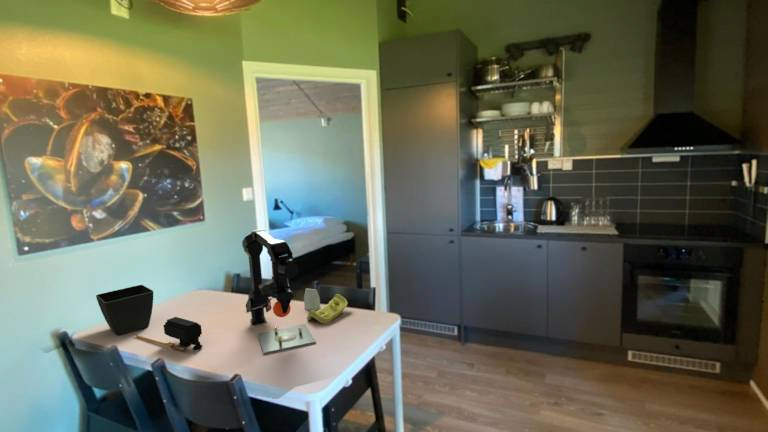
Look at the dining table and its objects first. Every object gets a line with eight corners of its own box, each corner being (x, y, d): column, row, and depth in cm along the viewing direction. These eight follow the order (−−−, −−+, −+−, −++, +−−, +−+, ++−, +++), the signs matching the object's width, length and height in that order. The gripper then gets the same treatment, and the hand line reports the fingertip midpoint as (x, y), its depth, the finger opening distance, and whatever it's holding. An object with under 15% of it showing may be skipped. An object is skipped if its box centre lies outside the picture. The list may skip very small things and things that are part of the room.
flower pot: (100, 329, 188) (95, 294, 186) (146, 317, 201) (141, 283, 199) (110, 340, 175) (104, 302, 172) (158, 326, 188) (154, 291, 186)
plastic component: (325, 320, 180) (308, 308, 183) (321, 333, 183) (305, 320, 186) (351, 302, 196) (335, 291, 200) (347, 314, 199) (331, 303, 203)
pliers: (280, 298, 221) (279, 293, 220) (268, 312, 201) (268, 307, 201) (259, 299, 221) (258, 294, 221) (245, 313, 201) (245, 308, 201)
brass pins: (274, 333, 171) (274, 327, 171) (299, 328, 175) (298, 322, 175) (279, 344, 161) (278, 337, 160) (304, 339, 165) (304, 332, 164)
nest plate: (257, 335, 173) (257, 333, 173) (304, 325, 180) (304, 323, 180) (263, 354, 155) (263, 352, 154) (315, 343, 162) (315, 341, 162)
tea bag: (315, 311, 198) (314, 291, 197) (304, 309, 201) (303, 289, 200) (320, 308, 201) (318, 288, 200) (309, 306, 205) (308, 287, 203)
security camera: (192, 353, 159) (189, 328, 157) (164, 344, 168) (161, 321, 167) (207, 346, 164) (205, 322, 163) (180, 337, 174) (178, 315, 173)
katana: (137, 339, 178) (136, 333, 178) (187, 351, 160) (186, 345, 160) (134, 340, 177) (133, 334, 177) (183, 353, 159) (182, 346, 159)
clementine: (291, 311, 171) (289, 295, 170) (295, 316, 165) (294, 299, 164) (271, 315, 168) (270, 299, 167) (275, 321, 161) (274, 304, 160)
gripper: (256, 270, 169) (260, 306, 171) (262, 282, 152) (265, 322, 154) (284, 266, 174) (286, 302, 176) (292, 277, 156) (295, 316, 159)
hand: (283, 310), depth 166 cm, fingers closed on clementine, 7 cm apart
